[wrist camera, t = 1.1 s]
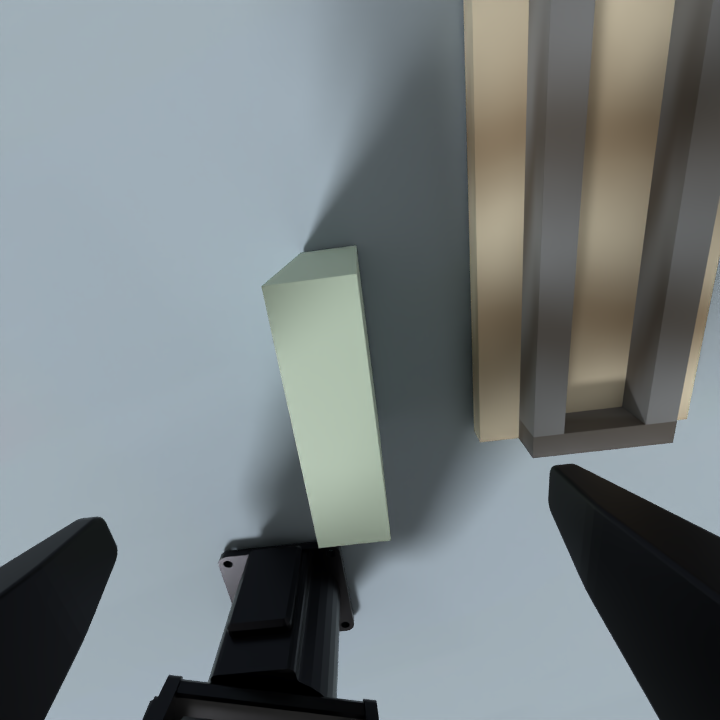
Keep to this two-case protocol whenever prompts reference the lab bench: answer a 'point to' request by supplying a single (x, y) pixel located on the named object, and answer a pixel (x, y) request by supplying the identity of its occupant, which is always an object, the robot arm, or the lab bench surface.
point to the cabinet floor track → (590, 216)
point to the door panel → (330, 393)
